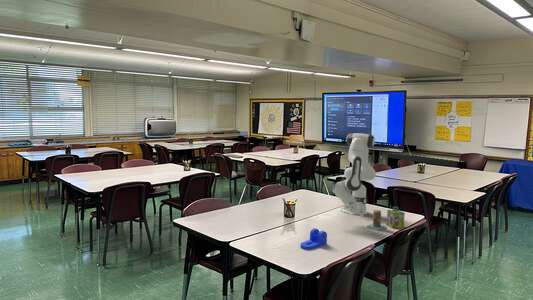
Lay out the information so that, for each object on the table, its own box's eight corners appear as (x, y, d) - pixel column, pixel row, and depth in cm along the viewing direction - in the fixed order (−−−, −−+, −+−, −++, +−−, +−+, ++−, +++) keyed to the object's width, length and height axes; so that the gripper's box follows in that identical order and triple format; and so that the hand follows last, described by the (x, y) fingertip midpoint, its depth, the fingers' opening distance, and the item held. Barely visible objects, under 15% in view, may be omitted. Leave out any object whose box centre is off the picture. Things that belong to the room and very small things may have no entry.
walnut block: (373, 226, 256) (373, 211, 255) (372, 224, 260) (373, 210, 259) (380, 227, 254) (381, 212, 253) (379, 225, 259) (380, 210, 258)
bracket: (316, 240, 229) (317, 227, 229) (326, 244, 223) (327, 230, 222) (297, 247, 218) (298, 233, 217) (307, 251, 211) (308, 236, 211)
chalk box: (393, 228, 256) (394, 208, 255) (386, 225, 265) (386, 205, 264) (404, 227, 259) (405, 208, 257) (396, 224, 267) (397, 205, 266)
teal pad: (366, 227, 258) (366, 225, 257) (373, 225, 264) (373, 223, 264) (379, 230, 250) (379, 228, 250) (386, 228, 257) (386, 226, 257)
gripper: (352, 201, 250) (366, 215, 248) (352, 195, 269) (365, 208, 268) (346, 207, 251) (359, 221, 250) (346, 200, 271) (359, 214, 269)
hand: (362, 214), depth 259 cm, fingers open, 8 cm apart
